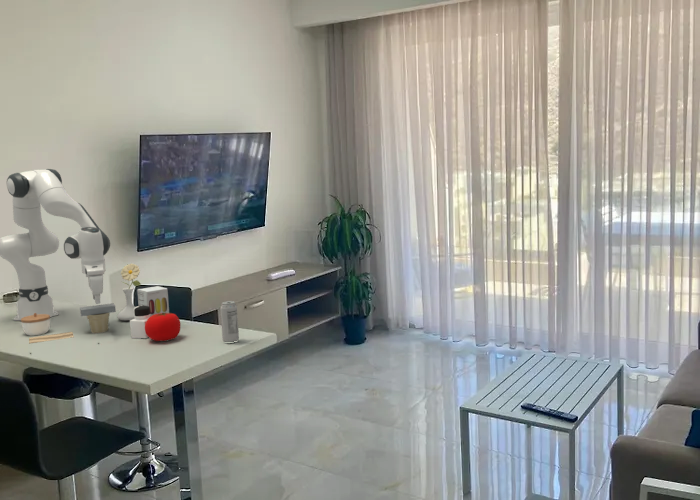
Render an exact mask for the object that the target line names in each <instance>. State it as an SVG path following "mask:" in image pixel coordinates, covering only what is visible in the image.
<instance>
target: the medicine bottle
mask: <svg viewBox="0 0 700 500" xmlns="http://www.w3.org/2000/svg"><path fill="white" fill-rule="evenodd" d="M134 317H135V319H132V320H129V326H130V327H129V328H130V335H131V336H130V337H131V339H141V338H147V339H149V338H148V336H147V334H146V332H145V324H146V321H147V320H148V318H149V317H150V307H149V306H139V305H138V306H135V308H134Z"/></svg>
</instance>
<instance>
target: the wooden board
mask: <svg viewBox="0 0 700 500" xmlns="http://www.w3.org/2000/svg"><path fill="white" fill-rule="evenodd" d="M70 338H74V332H73V331H68V332H61V333H54V334H53V333H52V334H46V335H37V336H31V337H28V344H37V343H42V342H51V341H56V340H64V339H70Z"/></svg>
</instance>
